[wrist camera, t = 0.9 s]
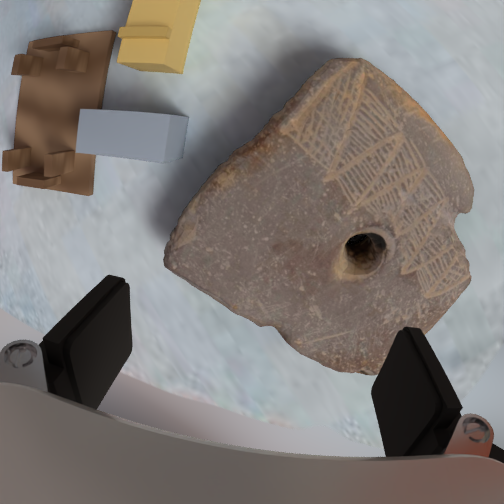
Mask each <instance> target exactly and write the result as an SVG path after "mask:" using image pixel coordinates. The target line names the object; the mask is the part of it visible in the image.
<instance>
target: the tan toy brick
mask: <svg viewBox="0 0 504 504" xmlns="http://www.w3.org/2000/svg"><path fill="white" fill-rule="evenodd" d="M200 2H201V0H133V2H132V6H131V9H130V12H129V16H128V19H127V23H126V26H125V27H120V29H119V33H118V37H120V38H122V42H121V46H120V50H119V54H118V58H117V63H120V64H123V65H125V66H128V67H131V68H134V69H137V70H139V71H149V72H165V73H177V74H183V69H184V65H185V60H186V56H187V52H188V48H189V44H190V39H191V35H192V31H193V28H194V24H195V20H196V16H197V13H198V9H199V5H200Z"/></svg>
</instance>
